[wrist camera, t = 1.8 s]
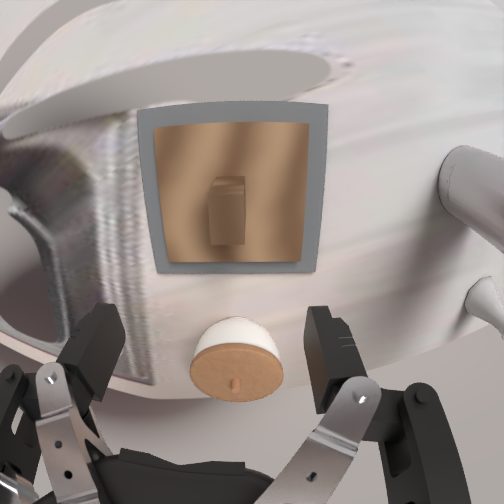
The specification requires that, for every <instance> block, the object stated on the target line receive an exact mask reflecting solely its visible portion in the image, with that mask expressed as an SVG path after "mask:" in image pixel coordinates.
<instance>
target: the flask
mask: <svg viewBox="0 0 504 504" xmlns="http://www.w3.org/2000/svg"><path fill="white" fill-rule="evenodd" d="M465 307H466V310H467V313H469V314H471V315H474V316H476V317H478V318H480V319H482V320H484V321H486V322H488V323H490V324H492V325H493V326H494V327H495V328H497V329H498V330H499V332H500V333H501V334H502V338H503V339H504V307H503V304H502V302H501V299H500V297H499V294H498V292H497V289H496V286H495V284H494V281H493V279H492V277H491V276H489V277H486V278H482V279H480V280H479V281H478V282H477V283H476V284H475V285H474V286H473V287H472V288H471V289H470V290H469V293H468V296H467V298H466V301H465Z"/></svg>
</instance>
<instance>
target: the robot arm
mask: <svg viewBox="0 0 504 504" xmlns="http://www.w3.org/2000/svg"><path fill="white" fill-rule="evenodd" d="M438 186H439V195H440V200H441V202H442V204H443V206H444V208H445V209H446V210H447V211H448V212H449V213H450V214H452V215H453V216H455V217H456V218H458V219H459V220H460V221H462V222H463V223H465V224H466V225H467V226H469V227H470V228H471V229H473V230H474V231H475V232H477V233H478V234H479V235H481V236H482V237H483V238H485V239H486V240H487V241H488V242H490V243H491V244H492V245H493V246H495V247H496V248H497V249H498V250H500V251H501V252H502V253H503V254H504V158H502V157H499V156H497V155H494V154H491V153H489V152H486V151H483V150H480V149H477V148H473V147H470V146H459V147H457V148H455V149H454V150H452V151H451V152H450V153H449V155H448V156H447V157H446V159H445V161H444V162H443V165H442V168H441V171H440V175H439V184H438ZM124 343H125V330H124V327H123V324H122V322H121V319H120V316H119V313H118V311H117V308H116V306H115V305H114V304H107V303H97V304H96V305H95V307H94V309H93V310H92V312H91V313H90V314H87V315H86V316H85V317H84V318H82V319H81V320H80V321H79V323H78V324H77V326H76V328H75V331H73V333H72V334H71V338H69V339H68V341H67V343H66V344H65V346H64V348H63V350H62V351H61V353H60V355H59V357H58V358H57V360H56V362H50V363H47V364H45V365H43V366H42V367H41V368H40V369H39V370H38V372H37V373H28V374H27V373H26V374H25V373H24V372H23V371H22V369H21V368H20V367H19V366H18V365H15V364H12V365H9V366H7V367H6V368H4V369H3V370H2V372H1V373H0V504H326V502H327V501H328V499H329V498H330V496H331V495H332V493H333V492H334V490H335V489H336V487H337V486H338V484H339V482H340V481H341V479H342V478H343V476H344V474H345V473H346V471H347V469H348V468H349V466H350V464H351V462H352V461H353V459H354V457H355V455H356V453H357V450H358V449H357V448H358V446H359V443H360V441H361V440H363V441H373V442H378V445H379V450H380V455H381V460H382V465H383V471H384V477H385V483H386V488H387V496H388V503H389V504H471V500H470V495H469V491H468V486H467V482H466V478H465V475H464V471H463V467H462V464H461V461H460V457H459V453H458V450H457V447H456V444H455V441H454V438H453V435H452V432H451V429H450V426H449V423H448V421H447V418H446V415H445V412H444V410H443V407H442V405H441V402H440V400H439V397H438V395H437V393H436V391H435V390H434V389H433V388H432V387H431V386H429V385H428V384H425V383H414V384H412V385H410V386H409V387H408V388H407V389H406V390H405V391H397V390H387V389H383V388H380V387H379V385H378V384H377V383H376V382H375V381H373V380H372V379H370V378H368V376H367V374H366V371H365V368H364V365H363V363H362V360H361V357H360V355H359V352H358V349H357V347H356V346H355V341H354V339H353V338H352V334H351V331H350V329H349V326H348V325H347V324H346V323H345V322H344V321H343V320H342V319H341V318H332V316H331V313H330V310H329V308H328V306H309V307H308V311H307V317H306V324H305V330H304V350H305V355H306V360H307V365H308V370H309V375H310V380H311V386H312V391H313V396H314V402H315V407H316V413H317V414H325V415H324V417H323V418H322V420H321V421H320V423H319V424H318V426H317V427H316V428H315V430H313V431H312V432H311V433H310V434H309V436H308V437H307V439H306V440H305V441H304V443H303V444H302V446H301V447H300V448H299V450H298V451H297V452H296V454H295V455H294V456H293V458H292V459H291V460H290V462H289V463H288V464H287V466H286V467H285V468H284V469H283V470H282V472H281V473H280V474H279V475H278V477H277V478H276V479H275V480H274V479H273V478H271V477H269V476H268V475H265V474H263V473H261V472H258V471H255V470H251V469H247V468H245V462H221V461H210V462H202V463H195V464H187V465H176V464H173V463H171V462H168V461H166V460H163V459H161V458H158V457H156V456H153V455H151V454H149V453H144V452H139V451H133V450H129V449H124V448H121V450H120V454H117V455H113V453H112V452H111V450H110V449H109V447H108V446H107V444H106V443H105V441H104V438H103V436H102V433H101V431H100V429H99V426H98V423H97V421H96V418H95V416H94V413H93V410H92V408H91V406H90V403H91V400H95V401H99V402H102V399H103V396H104V394H105V391H106V388H107V386H108V383H109V380H110V378H111V375H112V373H113V370H114V368H115V365H116V363H117V360H118V358H119V355H120V353H121V351H122V348H123V346H124ZM18 407H20V409H21V410H22V411H23V415H22V417H21V420H20V423H19V426H18V428H17V431H16V434H15V435H14V434H13V432H12V429H11V425H12V421H13V419H14V416H15V414H16V411H17V409H18ZM41 452H42V456H43V459H44V463H45V466H46V470H47V473H48V476H49V479H50V482H51V485H52V488H53V491H52V492H50V493H48V494H47V495H45V496H44V497H42V498H40V499H39V496H38V494H37V493H36V492H35V491H34V487H33V484H34V479H35V475H36V471H37V467H38V463H39V460H40V456H41Z"/></svg>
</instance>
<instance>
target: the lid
mask: <svg viewBox="0 0 504 504" xmlns="http://www.w3.org/2000/svg"><path fill="white" fill-rule="evenodd" d="M154 141H155V155H156V166H157V177H158V187H159V196H160V204H161V212H162V220H163V227H164V234H165V241H166V248H167V254H168V260H169V262H296V261H301V254H302V243H303V231H304V217H305V203H306V187H307V168H308V145H309V124H308V123H291V122H219V123H201V124H187V125H176V126H166V127H157V128H154Z"/></svg>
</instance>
